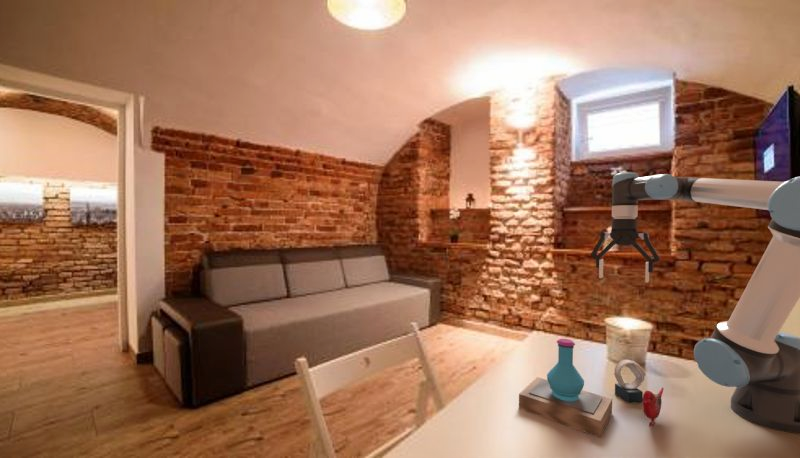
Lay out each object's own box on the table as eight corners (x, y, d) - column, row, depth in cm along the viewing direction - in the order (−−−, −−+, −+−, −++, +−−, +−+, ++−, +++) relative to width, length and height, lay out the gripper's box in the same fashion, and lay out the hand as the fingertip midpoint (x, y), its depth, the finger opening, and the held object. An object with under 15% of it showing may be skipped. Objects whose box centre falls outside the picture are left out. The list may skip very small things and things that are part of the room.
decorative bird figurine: (637, 432, 87) (638, 392, 87) (656, 407, 99) (657, 371, 98) (651, 437, 85) (652, 396, 84) (669, 411, 96) (670, 375, 96)
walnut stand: (611, 413, 95) (612, 397, 95) (600, 437, 85) (600, 419, 84) (537, 390, 108) (537, 376, 108) (518, 408, 98) (519, 392, 98)
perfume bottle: (539, 389, 99) (540, 336, 99) (566, 385, 102) (566, 333, 102) (563, 406, 91) (564, 348, 90) (592, 400, 93) (593, 344, 93)
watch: (648, 402, 101) (649, 364, 101) (622, 403, 100) (623, 365, 100) (633, 392, 107) (634, 356, 107) (609, 393, 106) (609, 357, 106)
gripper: (670, 218, 116) (669, 282, 117) (587, 218, 133) (586, 274, 133) (668, 218, 111) (667, 285, 111) (582, 218, 127) (581, 277, 127)
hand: (623, 279), depth 122 cm, fingers open, 13 cm apart
